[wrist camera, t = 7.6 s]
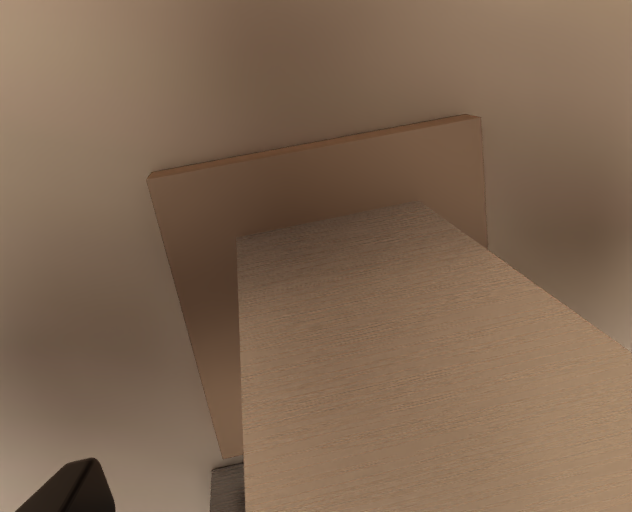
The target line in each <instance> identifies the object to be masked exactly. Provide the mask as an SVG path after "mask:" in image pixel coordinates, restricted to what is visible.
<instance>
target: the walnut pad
mask: <svg viewBox="0 0 632 512" xmlns="http://www.w3.org/2000/svg"><path fill="white" fill-rule="evenodd" d="M146 181H147V185H148V188H149V192H150V196H151V199H152V203H153V207H154V210H155V214H156V217H157V221H158V225H159V228H160V232H161V236H162V239H163V243H164V247H165V250H166V254H167V258H168V261H169V265H170V268H171V272H172V276H173V279H174V283H175V287H176V290H177V294H178V298H179V301H180V305H181V309H182V312H183V316H184V320H185V323H186V327H187V330H188V334H189V338H190V341H191V345H192V349H193V352H194V356H195V360H196V363H197V367H198V371H199V374H200V378H201V381H202V385H203V389H204V392H205V396H206V400H207V403H208V407H209V411H210V414H211V418H212V422H213V425H214V429H215V433H216V436H217V440H218V443H219V447H220V451H221V454H222V458H223V459H226V458H231V457H235V456H239V455H243V454H244V452H243V422H242V392H241V362H240V332H239V302H238V271H237V241H236V238H237V237H242V236H247V235H252V234H257V233H262V232H267V231H271V230H276V229H281V228H286V227H291V226H296V225H301V224H305V223H310V222H315V221H320V220H325V219H330V218H335V217H340V216H344V215H349V214H354V213H359V212H364V211H369V210H374V209H379V208H383V207H388V206H393V205H398V204H403V203H408V202H413V201H418V200H419V201H420V202H421V203H423V204H424V205H426V206H427V207H428V208H430V209H431V210H433V211H434V212H435V213H437V214H438V215H440V216H441V217H442V218H444V219H445V220H447V221H448V222H449V223H451V224H452V225H454V226H455V227H456V228H458V229H459V230H461V231H462V232H463V233H465V234H466V235H468V236H469V237H470V238H472V239H473V240H475V241H476V242H477V243H479V244H480V245H482V246H483V247H484V248H486V249H487V250H488V242H487V222H486V203H485V184H484V164H483V145H482V125H481V117H477V116H472V115H467V114H464V115H459V116H453V117H448V118H442V119H437V120H432V121H426V122H421V123H415V124H410V125H405V126H399V127H394V128H388V129H383V130H378V131H372V132H367V133H361V134H356V135H351V136H345V137H340V138H335V139H329V140H324V141H318V142H313V143H308V144H302V145H297V146H291V147H286V148H281V149H275V150H270V151H264V152H259V153H254V154H248V155H243V156H237V157H232V158H227V159H221V160H216V161H210V162H205V163H200V164H194V165H189V166H183V167H178V168H173V169H167V170H162V171H156V172H152V173H151V174H150V175H149V177H148V178H147V179H146Z"/></svg>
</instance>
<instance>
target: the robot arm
mask: <svg viewBox="0 0 632 512" xmlns="http://www.w3.org/2000/svg"><path fill="white" fill-rule="evenodd" d="M15 512H116V511H115V503H114V499H113V496H112V494H111V491H110V488H109V486H108V483H107V480H106V478H105V475H104V472H103V470H102V467H101V465H100V463H99V461H98V460H97V459H95V458H87V459H83V460H78V461H74V462H70V463H67V464H66V465H64V466H63V467H62V468H61V469H60V470H59V471H58V472H57V473H56V474H55V475H54V476H52V477H51V478H50V479H49V480H48V481H47V482H46V483H45V484H44V485H43V486H42V487H41V488H40V489H39V490H38V491H37V492H35V493H34V494H33V495H32V496H31V497H30V498H29V499H28V500H27V501H26V502H25V503H24V504H23V505H22V506H21V507H20V508H18V509H17V510H16V511H15Z"/></svg>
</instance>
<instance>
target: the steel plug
mask: <svg viewBox="0 0 632 512" xmlns="http://www.w3.org/2000/svg"><path fill="white" fill-rule="evenodd" d="M236 241H237V271H238V302H239V332H240V362H241V392H242V422H243V452H244V482H245V512H632V353H631V352H630V351H628V350H627V349H626V348H624V347H623V346H621V345H620V344H619V343H617V342H616V341H614V340H613V339H612V338H610V337H609V336H607V335H606V334H605V333H603V332H602V331H600V330H599V329H598V328H596V327H595V326H593V325H592V324H591V323H589V322H588V321H586V320H585V319H584V318H582V317H581V316H579V315H578V314H577V313H575V312H574V311H572V310H571V309H570V308H568V307H567V306H565V305H564V304H563V303H561V302H560V301H558V300H557V299H556V298H554V297H553V296H551V295H550V294H549V293H547V292H546V291H544V290H543V289H542V288H540V287H539V286H537V285H536V284H535V283H533V282H532V281H530V280H529V279H528V278H526V277H525V276H523V275H522V274H521V273H519V272H518V271H516V270H515V269H514V268H512V267H511V266H510V265H508V264H507V263H505V262H504V261H503V260H501V259H500V258H498V257H497V256H496V255H494V254H493V253H491V252H490V251H489V250H487V249H486V248H484V247H483V246H482V245H480V244H479V243H477V242H476V241H475V240H473V239H472V238H470V237H469V236H468V235H466V234H465V233H463V232H462V231H461V230H459V229H458V228H456V227H455V226H454V225H452V224H451V223H449V222H448V221H447V220H445V219H444V218H442V217H441V216H440V215H438V214H437V213H435V212H434V211H433V210H431V209H430V208H428V207H427V206H426V205H424V204H423V203H421V202H420V201H419V200H418V201H413V202H408V203H403V204H398V205H393V206H388V207H383V208H379V209H374V210H369V211H364V212H359V213H354V214H349V215H344V216H340V217H335V218H330V219H325V220H320V221H315V222H310V223H305V224H301V225H296V226H291V227H286V228H281V229H276V230H271V231H267V232H262V233H257V234H252V235H247V236H242V237H237V238H236Z"/></svg>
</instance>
